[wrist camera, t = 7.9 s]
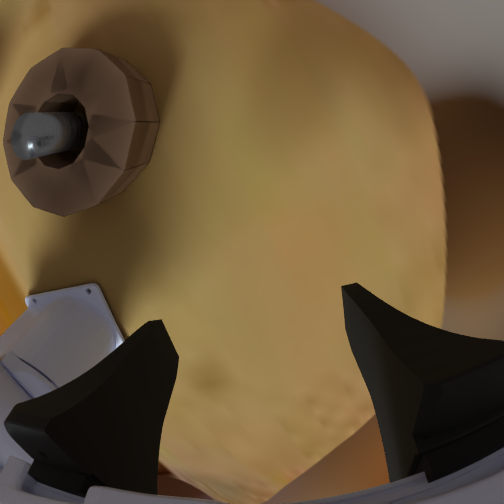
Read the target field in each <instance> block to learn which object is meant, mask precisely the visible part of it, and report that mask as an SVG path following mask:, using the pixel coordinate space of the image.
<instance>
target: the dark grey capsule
mask: <svg viewBox="0 0 504 504" xmlns="http://www.w3.org/2000/svg"><path fill="white" fill-rule="evenodd" d="M88 128H89V125H88V120H87V115H86V112H34V113H25V114H23V115H21V116H20V117H19V118H18V119H17V121H16V122H15V124H14V127H13V130H12V135H11V143H12V148H13V150H14V152H15V154H16V155H17V156H18V157H19V158H20V159H23V160H28V159H32V158H36V157H40V156H45V155H49V154H54V153H59V152H63V151H68V150H74V149H79V148H84V147H85V143H86V138H87V133H88Z"/></svg>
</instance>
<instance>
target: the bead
mask: <svg viewBox="0 0 504 504" xmlns="http://www.w3.org/2000/svg"><path fill="white" fill-rule="evenodd" d="M79 102H80V103H81V104H82V105H83V106H84V107H85V111H86V115H87V120H88V125H89V128H88V133H87V138H86V143H85V147H84V149H83V150H82V152H81V153H80V154H79V156H78V157H77V155H76V154H75V153H74V152H73V151H72V150H68V151H63V152H59V153H54V154H49V155H45V156H40V157H36V158H32V159H28V160H23V159H20V158H19V157H18V156H17V155H16V154H15V152H14V150H13V148H12V143H11V135H12V130H13V127H14V124H15V122H16V121H17V119H18V118H19V117H20V116H21V115H23V114H25V113H34V112H72V111H73V109H74V108H75V107H76V105H77V104H78V103H79ZM158 122H160V121H159V116H158V112H157V108H156V104H155V99H154V95H153V91H152V86H151V85H150V83H149V82H148V81H147V80H146V79H145V78H144V77H143V76H142V75H141V74H140V73H139V72H138V71H137V70H135V69H134V68H133V67H132V66H131V65H130V64H129V63H128V62H127V61H125V60H123V59H120V58H118V57H116V56H113V55H111V54H108V53H106V52H103V51H101V50H98V49H88V48H61V49H60V50H58V51H56V52H55V53H53V54H52V55H50V56H48V57H47V58H45V59H44V60H42V61H41V62H39V63H38V64H36V65H35V66H33V67H32V68H31V69H30V70H29V71H28V73H27V74H26V76H25V78H24V79H23V81H22V82H21V84H20V86H19V87H18V89H17V90H16V92H15V94H14V96H13V97H12V99H11V101H10V103H9V107H8V113H7V118H6V124H5V131H4V138H3V142H4V143H3V145H4V150H5V155H6V160H7V164H8V168H9V172H10V176H11V179H12V181H13V182H14V184H15V185H16V186H17V188H18V189H19V190H20V191H21V193H22V194H23V195H24V196H25V198H26V199H27V200H28V201H29V203H30V204H31V205H32V206H33V207H35V208H38V209H41V210H44V211H47V212H50V213H53V214H56V215H59V216H62V217H65V216H68V215H71V214H73V213H76V212H79V211H82V210H85V209H88V208H91V207H94V206H97V205H98V204H100V203H102V202H104V201H106V200H108V199H110V198H111V197H113V196H115V195H117V194H119V193H121V192H123V191H125V190H126V189H127V187H128V186H129V185H130V184H131V183H132V182H133V180H134V179H135V178H136V177H137V176H138V175H139V173H140V172H141V171H142V170H143V169H144V168H145V167H146V166H147V164H148V163H149V162H150V159H151V154H152V150H153V146H154V142H155V139H156V135H157V131H158V127H159V124H160V123H158Z"/></svg>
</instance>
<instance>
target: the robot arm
mask: <svg viewBox="0 0 504 504" xmlns="http://www.w3.org/2000/svg"><path fill="white" fill-rule="evenodd" d="M341 288H342V297H343V307H344V318H345V329H346V332H347V336H348V340H349V343H350V346H351V350H352V352H353V355H354V357H355V359H356V362H357V364H358V367H359V369H360V371H361V374H362V376H363V378H364V381H365V383H366V386H367V388H368V390H369V393H370V396H371V399H372V402H373V405H374V409H375V413H376V416H377V420H378V424H379V428H380V433H381V437H382V442H383V446H384V451H385V456H386V462H387V467H388V473H389V479H390V483H387V484H384V485H380V486H377V487H373V488H369V489H366V490H361V491H357V492H352V493H348V494H343V495H338V496H333V497H328V498H322V499H315V500H309V501H302V502H294V503H284V504H504V341H501V340H491V339H481V338H474V337H469V336H465V335H460V334H455V333H452V332H448V331H445V330H442V329H439V328H436V327H433V326H430V325H428V324H425V323H423V322H421V321H419V320H416V319H414V318H412V317H410V316H408V315H406V314H404V313H402V312H401V311H399V310H397V309H395V308H393V307H392V306H390V305H389V304H387V303H385V302H384V301H382V300H381V299H379V298H378V297H376V296H375V295H373V294H372V293H371V292H369V291H368V290H366V289H365V288H364V287H362V286H361V285H359V284H358V283H353V284H349V285H344V286H341ZM88 289H90V290H91V292H90V291H89V290H88ZM25 302H26V304H27V306H28V309H27V310H26V311H25V312H24V313H23V314H22V315H21V316H20V317H19V318H18V319H17V320H16V321H15V322H14V323H13V324H12V325H11V326H10V327H9V328H8V329H7V330H6V331H5V332H4V333H3V334H2V335H1V336H0V504H228V503H223V502H219V501H214V500H205V499H196V498H184V497H172V496H162V495H157V474H158V458H159V447H160V440H161V433H162V427H163V422H164V418H165V415H166V411H167V408H168V405H169V401H170V398H171V394H172V391H173V387H174V384H175V380H176V376H177V369H178V361H179V356H178V354H177V352H176V350H175V348H174V345H173V343H172V341H171V339H170V337H169V335H168V333H167V330H166V328H165V326H164V324H163V322H162V319H161V320H154V321H148V322H147V323H145V324H144V325H143V326H141V327H140V328H139V329H138V330H137V331H135V332H134V333H133V334H132V335H131V336H130V337H128V338H127V339H126V340H125V339H124V338H123V336H122V334H121V332H120V330H119V328H118V326H117V324H116V322H115V319H114V317H113V315H112V313H111V311H110V309H109V307H108V305H107V302H106V300H105V298H104V296H103V294H102V291H101V289H100V287H99V286H98V285H97V284H96V283H90V284H85V285H80V286H75V287H70V288H65V289H59V290H54V291H49V292H44V293H39V294H34V295H29V296H27V297H26V298H25Z"/></svg>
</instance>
